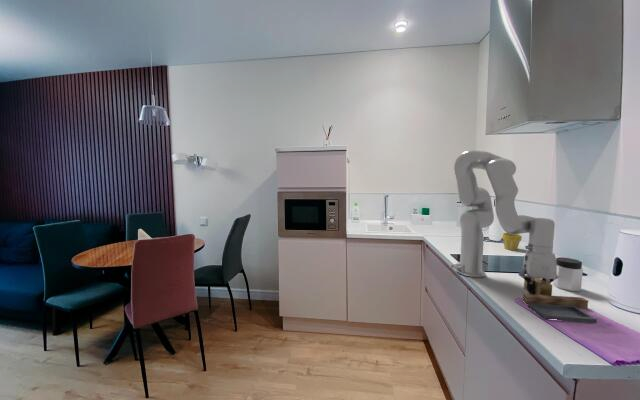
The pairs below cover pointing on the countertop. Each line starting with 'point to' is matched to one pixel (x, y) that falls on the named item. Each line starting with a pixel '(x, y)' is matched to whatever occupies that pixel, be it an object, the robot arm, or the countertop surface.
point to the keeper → (562, 313)
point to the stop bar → (540, 287)
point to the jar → (568, 274)
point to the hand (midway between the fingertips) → (536, 292)
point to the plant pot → (511, 241)
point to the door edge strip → (556, 300)
